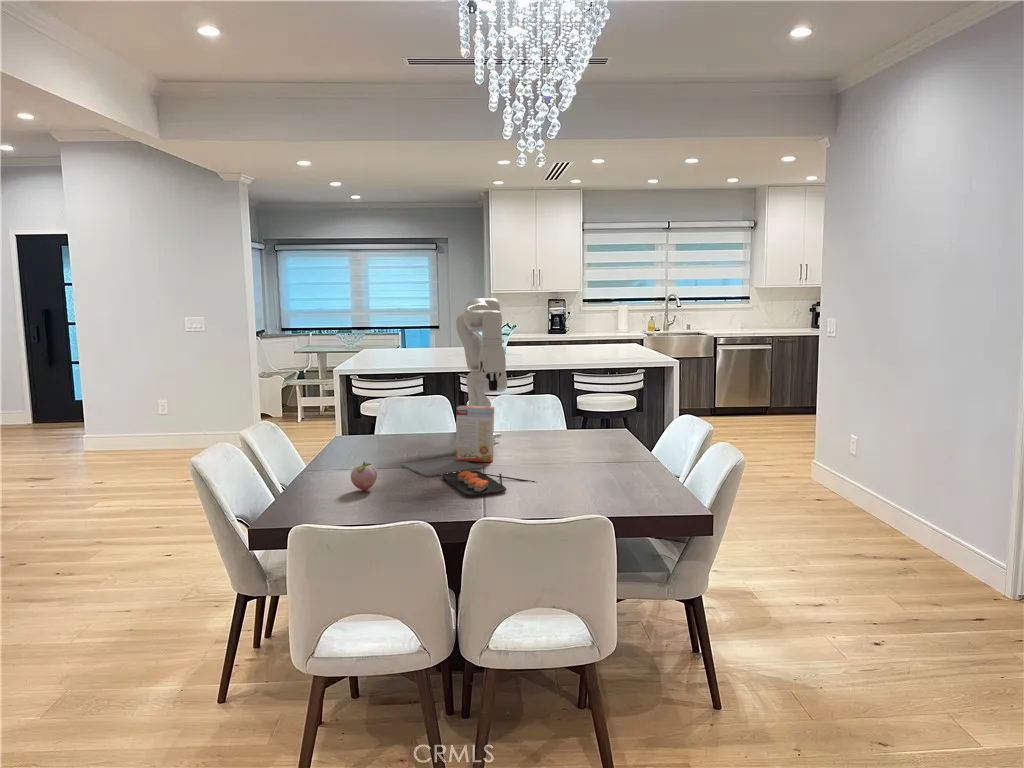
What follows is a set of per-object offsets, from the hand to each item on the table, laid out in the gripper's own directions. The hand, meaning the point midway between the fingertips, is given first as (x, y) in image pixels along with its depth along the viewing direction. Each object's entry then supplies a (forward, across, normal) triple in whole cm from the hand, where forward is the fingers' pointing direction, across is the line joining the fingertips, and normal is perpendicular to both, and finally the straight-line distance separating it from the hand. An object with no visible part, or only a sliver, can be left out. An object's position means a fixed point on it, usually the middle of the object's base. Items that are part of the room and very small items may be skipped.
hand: (493, 390), depth 272 cm
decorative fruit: (+28, +60, +13) cm, 67 cm away
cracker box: (+27, +9, -1) cm, 28 cm away
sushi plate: (+28, +20, +30) cm, 46 cm away
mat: (+27, +24, -1) cm, 36 cm away
